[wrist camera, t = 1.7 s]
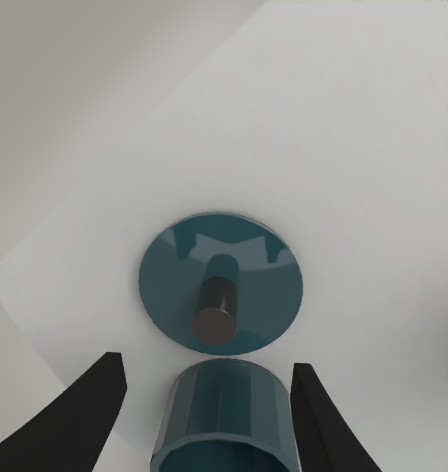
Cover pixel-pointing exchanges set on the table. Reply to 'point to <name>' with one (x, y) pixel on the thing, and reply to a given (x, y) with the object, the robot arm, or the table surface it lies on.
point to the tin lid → (220, 283)
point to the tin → (226, 422)
